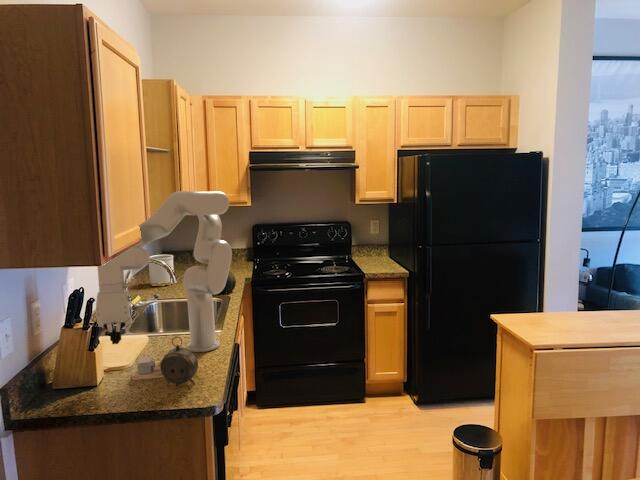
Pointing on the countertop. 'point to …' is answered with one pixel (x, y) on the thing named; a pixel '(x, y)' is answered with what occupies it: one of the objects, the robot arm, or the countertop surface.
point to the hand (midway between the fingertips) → (116, 342)
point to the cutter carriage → (145, 365)
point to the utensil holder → (160, 269)
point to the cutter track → (154, 374)
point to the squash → (229, 283)
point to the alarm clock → (179, 365)
